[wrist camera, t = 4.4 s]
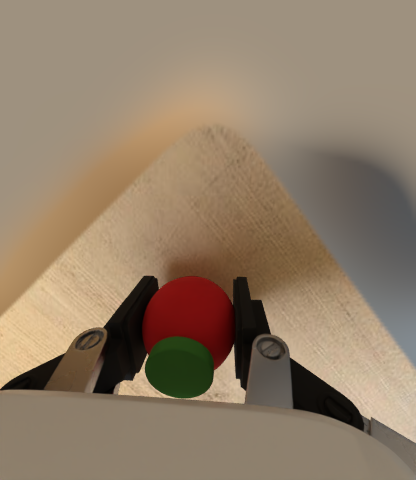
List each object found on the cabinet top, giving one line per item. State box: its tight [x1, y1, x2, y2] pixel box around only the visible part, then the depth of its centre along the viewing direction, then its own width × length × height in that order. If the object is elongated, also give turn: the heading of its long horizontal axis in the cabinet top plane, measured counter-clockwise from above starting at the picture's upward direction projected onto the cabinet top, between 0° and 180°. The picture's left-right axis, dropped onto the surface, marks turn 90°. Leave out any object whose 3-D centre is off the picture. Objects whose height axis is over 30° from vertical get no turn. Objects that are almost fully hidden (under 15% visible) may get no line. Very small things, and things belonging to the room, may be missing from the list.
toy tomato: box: [142, 276, 235, 398], centre depth 10 cm, size 5×5×5 cm
